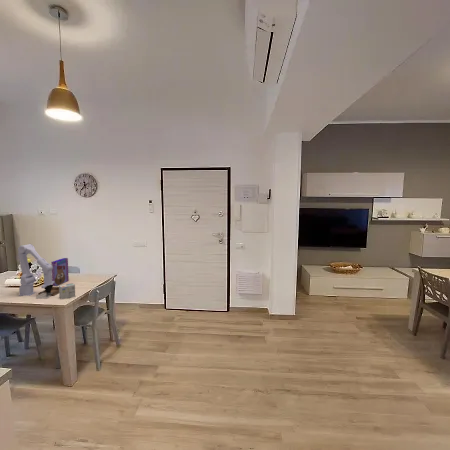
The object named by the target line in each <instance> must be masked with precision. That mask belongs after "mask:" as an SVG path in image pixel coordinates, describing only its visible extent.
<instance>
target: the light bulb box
mask: <svg viewBox="0 0 450 450" xmlns="http://www.w3.org/2000/svg"><path fill="white" fill-rule="evenodd" d="M58 287H59V294H58V295H59V296H58V297H59V298H60V299H61V300H65V299H66V300H67V299H71V298H74V297H76V284H75V283H72V282H71V283H66V284H61V285H59V286H58Z"/></svg>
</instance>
